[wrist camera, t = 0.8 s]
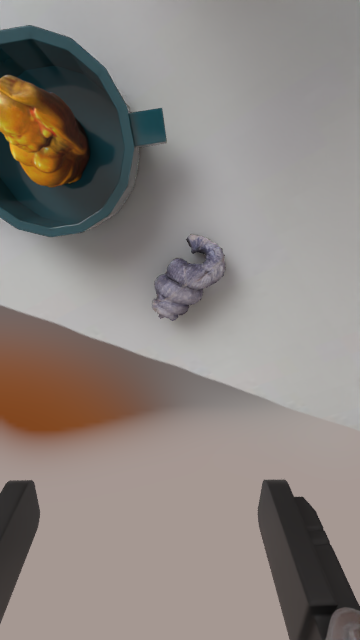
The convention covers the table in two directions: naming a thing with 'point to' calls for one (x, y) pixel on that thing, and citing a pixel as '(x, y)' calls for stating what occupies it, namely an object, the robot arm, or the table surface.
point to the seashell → (188, 279)
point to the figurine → (42, 133)
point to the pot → (99, 124)
